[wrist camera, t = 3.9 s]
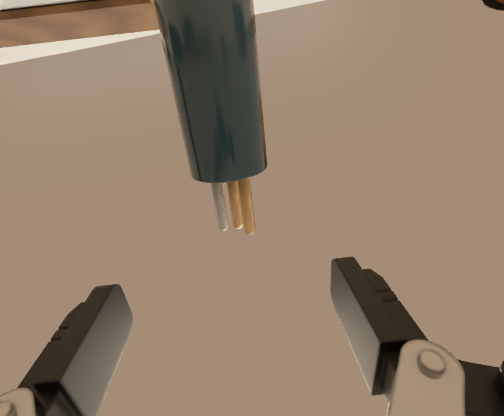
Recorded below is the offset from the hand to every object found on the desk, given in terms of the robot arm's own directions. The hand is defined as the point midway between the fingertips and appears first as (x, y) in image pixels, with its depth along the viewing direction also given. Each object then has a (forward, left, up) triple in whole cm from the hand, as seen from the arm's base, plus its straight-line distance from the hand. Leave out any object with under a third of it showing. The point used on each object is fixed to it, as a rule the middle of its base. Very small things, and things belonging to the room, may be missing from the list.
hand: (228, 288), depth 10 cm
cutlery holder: (0, -12, -13) cm, 18 cm away
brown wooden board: (-14, -22, -13) cm, 29 cm away
